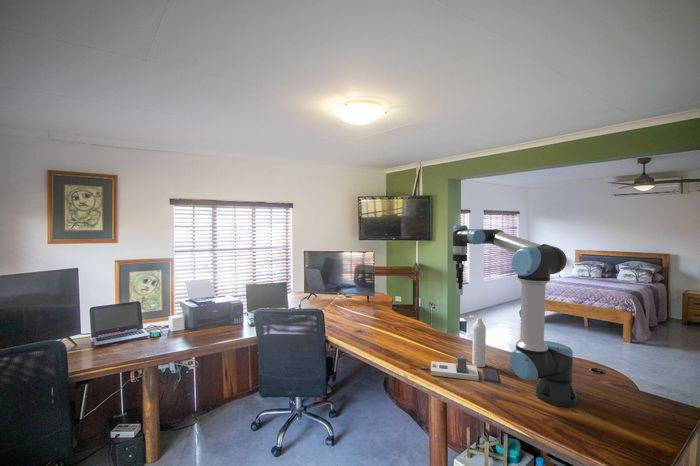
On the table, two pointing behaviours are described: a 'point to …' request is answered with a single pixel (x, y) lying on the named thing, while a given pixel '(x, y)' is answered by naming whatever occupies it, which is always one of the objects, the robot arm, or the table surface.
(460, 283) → the robot arm
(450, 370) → the power strip
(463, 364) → the charger
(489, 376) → the phone
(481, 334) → the water bottle
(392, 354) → the table surface
